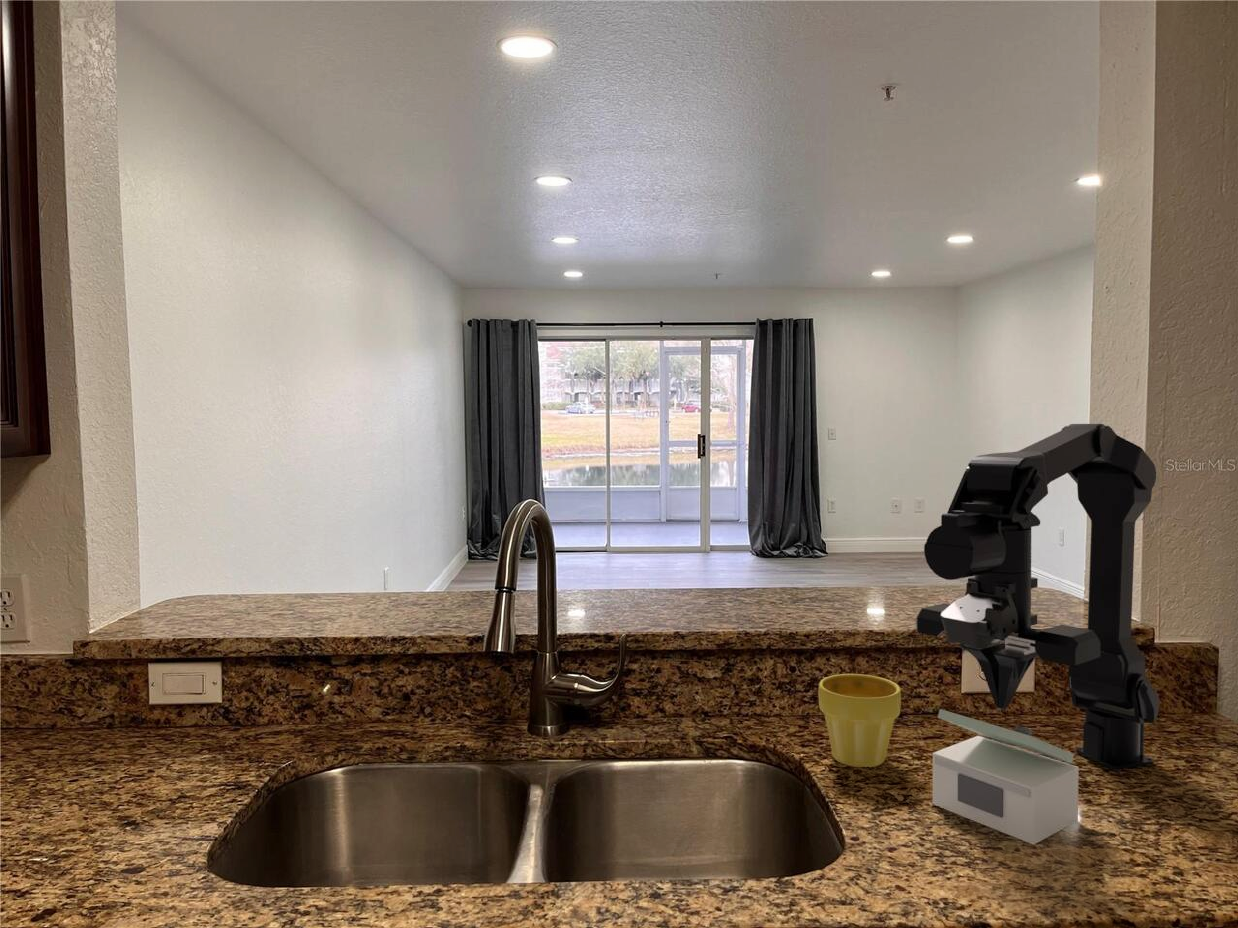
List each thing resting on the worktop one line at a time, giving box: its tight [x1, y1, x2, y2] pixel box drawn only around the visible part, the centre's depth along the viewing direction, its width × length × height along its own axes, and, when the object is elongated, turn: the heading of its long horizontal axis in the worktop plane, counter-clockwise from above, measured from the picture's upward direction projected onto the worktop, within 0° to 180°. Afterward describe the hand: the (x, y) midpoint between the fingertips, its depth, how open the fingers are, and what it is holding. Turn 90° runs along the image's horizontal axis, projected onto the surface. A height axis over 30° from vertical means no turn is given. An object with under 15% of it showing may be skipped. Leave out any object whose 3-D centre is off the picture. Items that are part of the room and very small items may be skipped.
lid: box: [937, 708, 1075, 764], centre depth 97 cm, size 10×11×2 cm
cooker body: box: [932, 735, 1079, 846], centre depth 97 cm, size 9×12×6 cm
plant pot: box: [818, 673, 902, 768], centre depth 113 cm, size 10×10×10 cm
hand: (1002, 708), depth 97 cm, fingers closed
